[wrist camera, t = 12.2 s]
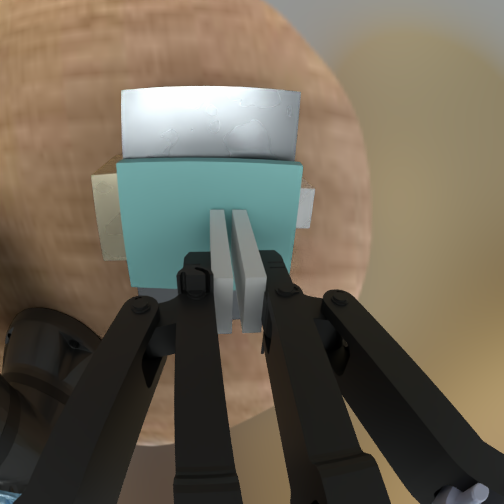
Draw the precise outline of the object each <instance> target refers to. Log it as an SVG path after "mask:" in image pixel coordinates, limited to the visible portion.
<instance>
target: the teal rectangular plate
mask: <svg viewBox="0 0 504 504" xmlns="http://www.w3.org/2000/svg"><path fill="white" fill-rule="evenodd" d="M116 169H117V182H118V193H119V204H120V213H121V221H122V230H123V237H124V244H125V251H126V258H127V264H128V270H129V276H130V282H131V287H143V288H167V289H177V278H176V275H177V273H178V271H179V270H181V269H182V268H183V263H184V257H185V256H186V255H187V254H188V253H189V252H209V251H210V210H224V213H225V221H226V229H227V236H228V243H229V250H230V258H231V230H232V210H246V211H247V214H248V217H249V220H250V224H251V227H252V230H253V234H254V237H255V240H256V243H257V247H258V250H275V251H276V252H278V253H279V254H280V255H281V256H282V258H283V261H284V263H285V266H286V268H287V270H288V273H290V266H291V259H292V252H293V245H294V237H295V230H296V222H297V214H298V206H299V198H300V189H301V181H302V172H303V165H302V164H301V163H300V162H295V161H280V160H263V159H241V158H140V159H122V160H120V161H119V162H117V163H116ZM231 265H232V259H231ZM232 272H233V266H232ZM233 290H236V286H235V280H234V273H233Z"/></svg>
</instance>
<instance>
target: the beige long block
mask: <svg viewBox="0 0 504 504" xmlns="http://www.w3.org/2000/svg"><path fill="white" fill-rule="evenodd" d="M122 159H123V155H116V156H115V157H113V158H112V159H111V160H110V161H108V162H107V163H106V164H105V165H103V166H102V167H101V168H100V169H98V170H97V171H96V172H95V173H93V174H92V175H91V178H92V187H93V196H94V204H95V211H96V218H97V225H98V231H99V237H100V243H101V249H102V254H103V259H104V261H115V260H127V258H126V251H125V244H124V237H123V230H122V221H121V213H120V204H119V193H118V182H117V169H116V163H117V162H119V161H120V160H122ZM314 193H315V188H314V187H313V186H311V185H310V184H309V183H308V182H307V181H306V180H305V179H304V178H303V177H302V181H301V189H300V198H299V206H298V214H297V222H296V228H310V222H311V215H312V208H313V201H314Z"/></svg>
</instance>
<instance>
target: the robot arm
mask: <svg viewBox="0 0 504 504" xmlns="http://www.w3.org/2000/svg"><path fill="white" fill-rule="evenodd" d="M231 259H232V265H231ZM232 266H233V272H232ZM233 273H234V280H235V286H236V293H237V300H238V306H239V313H240V320H241V326H242V333H255V332H261V327H262V326H263V330H264V332H263V341H262V349H261V354H264V351H265V357H266V362H267V367H268V373H269V378H270V383H271V389H272V394H273V399H274V405H275V410H276V415H277V421H278V426H279V431H280V436H281V442H282V447H283V452H284V457H285V462H286V468H287V473H288V478H289V483H290V489H291V499H290V504H391V502H390V499H389V496H388V494H387V490H386V488H385V484H384V482H383V479H382V476H381V473H380V470H379V468H378V465H377V463H376V461H375V459H374V457H373V456H372V455H371V454H367V453H364V452H363V451H362V450H361V448H360V445H359V442H358V440H357V437H356V434H355V431H354V428H353V425H352V422H351V420H350V417H349V414H348V411H347V408H346V405H345V403H344V400H343V397H344V398H345V400H346V402H347V403H348V404H349V406H350V407H351V409H352V410H353V412H354V413H355V415H356V416H357V417H358V419H359V421H360V422H361V423H362V425H363V426H364V428H365V429H366V431H367V432H368V434H369V435H370V437H371V438H372V439H373V441H374V442H375V444H376V445H377V447H378V448H379V450H380V451H381V453H382V454H383V455H384V457H385V458H386V460H387V461H388V463H389V464H390V466H391V467H392V468H393V470H394V471H395V473H396V474H397V476H398V477H399V479H400V480H401V481H402V483H403V484H404V486H405V487H406V488H407V489H408V491H409V492H410V493H411V495H412V496H413V497H414V498H415V499H416V500H417V501H418V502H419V503H420V504H504V454H503V453H501V452H499V451H498V450H496V449H495V448H493V447H491V446H490V445H488V444H487V443H485V442H484V441H483V440H482V439H481V438H480V437H479V436H478V435H477V433H476V432H475V431H474V430H473V429H472V427H471V426H470V425H469V424H468V422H467V421H466V420H465V419H464V418H463V417H462V415H461V414H460V413H459V412H458V411H457V409H456V408H455V407H454V406H453V405H452V404H451V402H450V401H449V400H448V399H447V398H446V397H445V396H444V394H443V393H442V392H441V391H440V390H439V389H438V388H437V386H436V385H435V384H434V383H433V382H432V381H431V380H430V378H429V377H428V376H427V375H426V374H425V373H424V372H423V371H422V370H421V368H420V367H419V366H418V365H417V364H416V363H415V362H414V361H413V359H412V358H411V357H410V356H409V355H408V354H407V353H406V352H405V351H404V350H403V349H402V347H401V346H400V345H399V344H398V343H397V342H396V341H395V340H394V339H393V338H392V337H391V336H390V335H389V333H387V331H386V330H385V329H384V328H383V327H382V326H381V325H380V324H379V323H378V322H377V321H376V320H375V319H374V317H373V316H372V315H371V314H370V313H369V312H368V311H367V310H366V309H365V308H364V307H363V306H362V305H361V304H360V303H359V302H358V301H357V300H356V299H355V297H354V296H352V295H351V294H350V293H348V292H345V291H343V290H329V291H327V292H326V293H325V294H324V295H323V299H322V298H316V297H311V296H307V295H304V294H303V291H302V290H301V288H300V287H299V286H297V285H296V284H293V283H292V280H291V278H290V275H289V273H288V270H287V268H286V266H285V263H284V261H283V258H282V256H281V255H280V254H279V253H278V252H276V251H275V250H258V247H257V243H256V240H255V237H254V234H253V230H252V227H251V224H250V220H249V217H248V214H247V211H246V210H232V230H231V258H230V250H229V243H228V236H227V229H226V221H225V213H224V210H210V251H209V252H189V253H188V254H187V255H186V256H185V257H184V263H183V268H182V269H181V270H179V271H178V273H177V275H176V278H177V289H178V295H177V296H176V297H175V298H173V299H171V300H169V301H166V302H162V303H158V302H157V300H156V299H154V298H153V297H150V296H143V295H140V296H136V297H133V298H131V299H129V300H128V301H127V302H126V303H125V304H124V305H123V307H122V308H121V310H120V311H119V313H118V315H117V316H116V318H115V319H114V321H113V323H112V324H111V326H110V328H109V329H108V331H107V332H106V334H105V336H104V337H103V339H102V341H101V340H100V339H99V338H98V337H97V336H96V335H95V334H94V333H93V332H92V331H91V330H90V329H88V328H87V327H86V326H84V325H83V324H82V323H80V322H78V321H77V320H75V319H73V318H71V317H69V316H67V315H65V314H63V313H60V312H57V311H54V310H50V309H45V308H31V309H26V310H24V311H22V312H20V313H19V314H18V315H17V316H16V317H15V318H14V320H13V322H12V323H11V325H10V327H9V329H8V331H7V334H6V340H5V349H4V356H3V366H2V374H0V504H117V501H118V498H119V495H120V492H121V488H122V485H123V482H124V479H125V476H126V472H127V470H128V467H129V464H130V461H131V458H132V455H133V452H134V449H135V446H136V443H137V440H138V437H139V434H140V431H141V428H142V425H143V422H144V420H145V417H146V414H147V411H148V408H149V406H150V403H151V400H152V397H153V394H154V392H155V389H156V386H157V383H158V381H159V378H160V375H161V373H162V370H163V367H164V365H165V362H166V359H167V355H171V354H175V385H174V424H175V460H176V461H175V462H176V475H175V477H174V484H173V492H174V504H243V502H242V496H241V490H240V485H239V480H238V476H237V473H236V470H235V464H234V457H233V451H232V444H231V437H230V430H229V423H228V415H227V408H226V400H225V392H224V384H223V376H222V368H221V359H220V350H219V341H218V334H231V333H232V306H233ZM342 396H343V397H342Z"/></svg>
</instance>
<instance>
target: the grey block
mask: <svg viewBox="0 0 504 504" xmlns="http://www.w3.org/2000/svg"><path fill="white" fill-rule="evenodd" d="M300 96H301V92H297V91H287V90H277V89H265V88H249V87H225V86H182V87H158V88H143V89H131V90H122V94H121V116H122V151H123V159H140V158H241V159H263V160H280V161H295V151H296V141H297V130H298V119H299V108H300ZM138 293H139V296H140V295H143V296H150V297H153V298H154V299H156V300H157V302H158V303H162V302H166V301H169V300H171V299H173V298H175V297H176V296H177V295H178V289H167V288H143V287H138ZM232 319H240V313H239V306H238V300H237V293H236V290H233V306H232Z"/></svg>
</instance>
